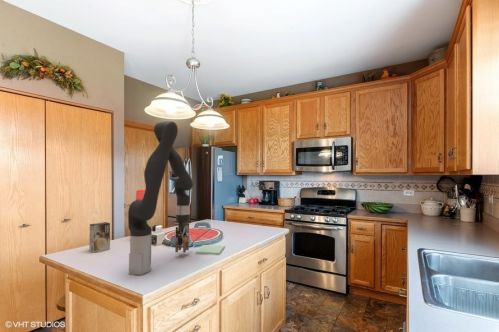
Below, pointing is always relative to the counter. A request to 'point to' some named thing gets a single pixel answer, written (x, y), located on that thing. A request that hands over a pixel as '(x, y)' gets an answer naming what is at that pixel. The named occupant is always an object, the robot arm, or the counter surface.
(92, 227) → the coffee box
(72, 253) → the counter surface
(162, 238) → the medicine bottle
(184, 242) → the walnut stool
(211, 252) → the sage mat
